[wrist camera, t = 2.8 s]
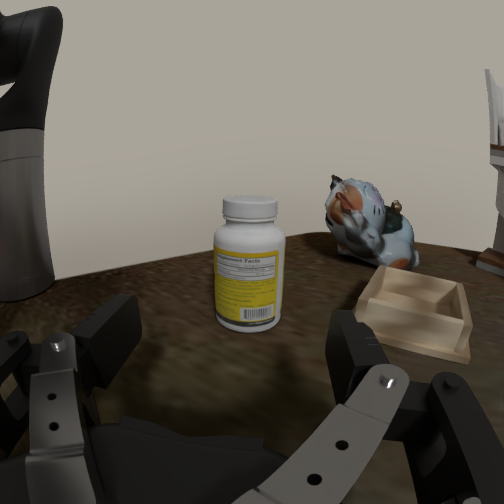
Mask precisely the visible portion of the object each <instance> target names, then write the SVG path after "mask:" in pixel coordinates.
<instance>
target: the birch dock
mask: <svg viewBox="0 0 504 504" xmlns="http://www.w3.org/2000/svg"><path fill="white" fill-rule="evenodd" d="M352 312H353V314H354V316H355V318H356V320H357V322H364V323H365V324H366V325H368V326H369V327H370V328H371V329H372V330H373V332H374V334H375V336H376V338H377V340H378V341H379V343H382V344H385V345H389V346H393V347H397V348H400V349H404V350H408V351H412V352H416V353H420V354H424V355H428V356H432V357H436V358H440V359H444V360H449V361H453V362H457V363H462V364H466V365H468V363H469V361H470V359H471V358H470V349H469V341H468V338H469V336H470V333H471V330H472V328H473V325H472V320H471V316H470V311H469V307H468V303H467V299H466V295H465V291H464V287H463V284H461V283H457V282H453V281H448V280H444V279H440V278H436V277H431V276H427V275H422V274H418V273H414V272H409V271H405V270H400V269H396V268H391V267H387V266H383V265H380V266H379V267H378V269H377V270H376V272H375V274H374V275H373V277H372V278H371V280H370V282H369V283H368V285H367V286H366V288H365V289H364V291H363V292H362V294H361V295H360V297H359V298H358V302H357V304H356V305H355V307H354V308H353V310H352Z"/></svg>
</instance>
